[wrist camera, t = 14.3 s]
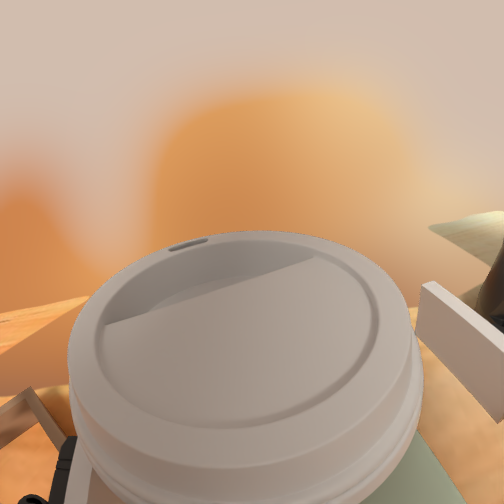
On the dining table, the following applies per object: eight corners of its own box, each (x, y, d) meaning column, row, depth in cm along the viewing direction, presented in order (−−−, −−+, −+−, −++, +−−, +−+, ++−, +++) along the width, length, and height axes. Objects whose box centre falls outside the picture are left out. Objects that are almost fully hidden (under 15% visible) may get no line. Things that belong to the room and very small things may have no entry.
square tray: (45, 407, 23) (30, 386, 22) (124, 500, 15) (102, 481, 13) (-43, 469, 12) (-62, 450, 11) (5, 583, 4) (-25, 569, 3)
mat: (180, 414, 22) (178, 409, 22) (367, 366, 24) (368, 361, 24) (197, 601, 8) (193, 600, 7) (467, 513, 9) (471, 509, 9)
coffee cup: (330, 425, 18) (357, 210, 11) (362, 549, 10) (531, 420, 3) (189, 440, 18) (107, 238, 11) (186, 567, 10) (-23, 467, 3)
